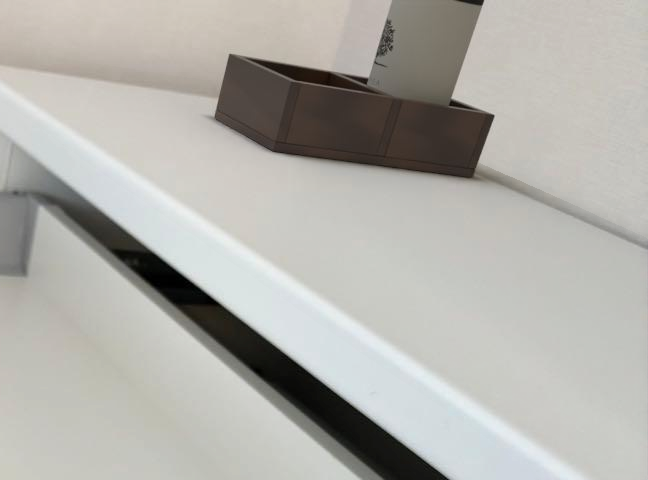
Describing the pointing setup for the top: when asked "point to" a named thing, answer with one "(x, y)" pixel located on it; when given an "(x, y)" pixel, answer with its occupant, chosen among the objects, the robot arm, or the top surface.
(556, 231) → the top surface
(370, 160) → the divided wooden tray
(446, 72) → the travel mug
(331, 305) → the top surface
